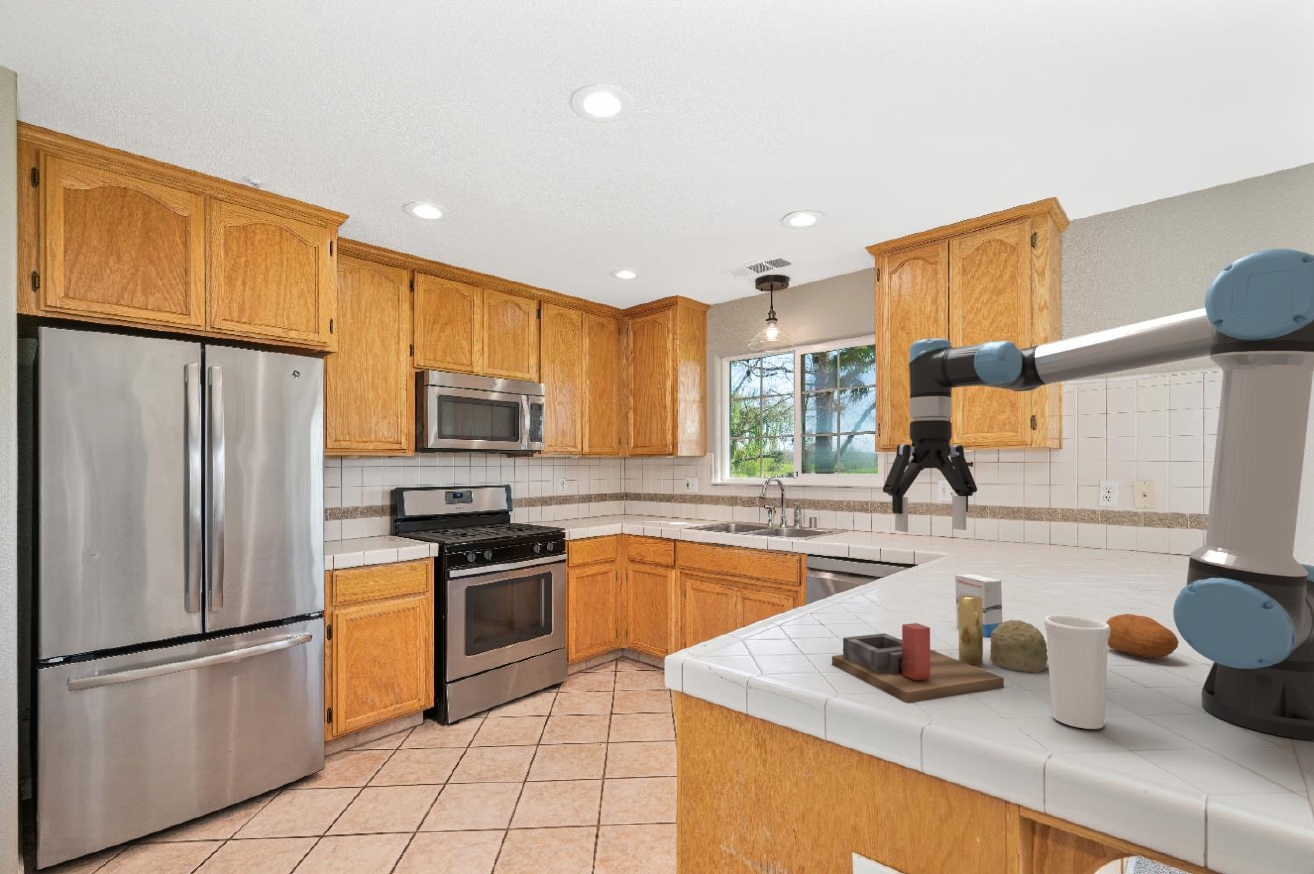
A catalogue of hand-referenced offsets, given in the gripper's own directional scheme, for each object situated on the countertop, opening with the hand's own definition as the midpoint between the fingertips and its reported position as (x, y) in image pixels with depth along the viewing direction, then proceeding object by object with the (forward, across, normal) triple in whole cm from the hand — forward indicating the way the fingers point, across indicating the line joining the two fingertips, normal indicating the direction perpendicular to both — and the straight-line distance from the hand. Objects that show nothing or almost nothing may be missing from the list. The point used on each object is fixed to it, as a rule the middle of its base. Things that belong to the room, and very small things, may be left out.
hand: (930, 530), depth 122 cm
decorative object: (+24, -11, +9) cm, 28 cm away
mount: (+24, +11, +8) cm, 28 cm away
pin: (+22, +15, +10) cm, 29 cm away
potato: (+24, -38, +12) cm, 47 cm away
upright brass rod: (+24, -4, +6) cm, 25 cm away
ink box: (+24, -22, -11) cm, 34 cm away
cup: (+24, +2, +32) cm, 40 cm away
